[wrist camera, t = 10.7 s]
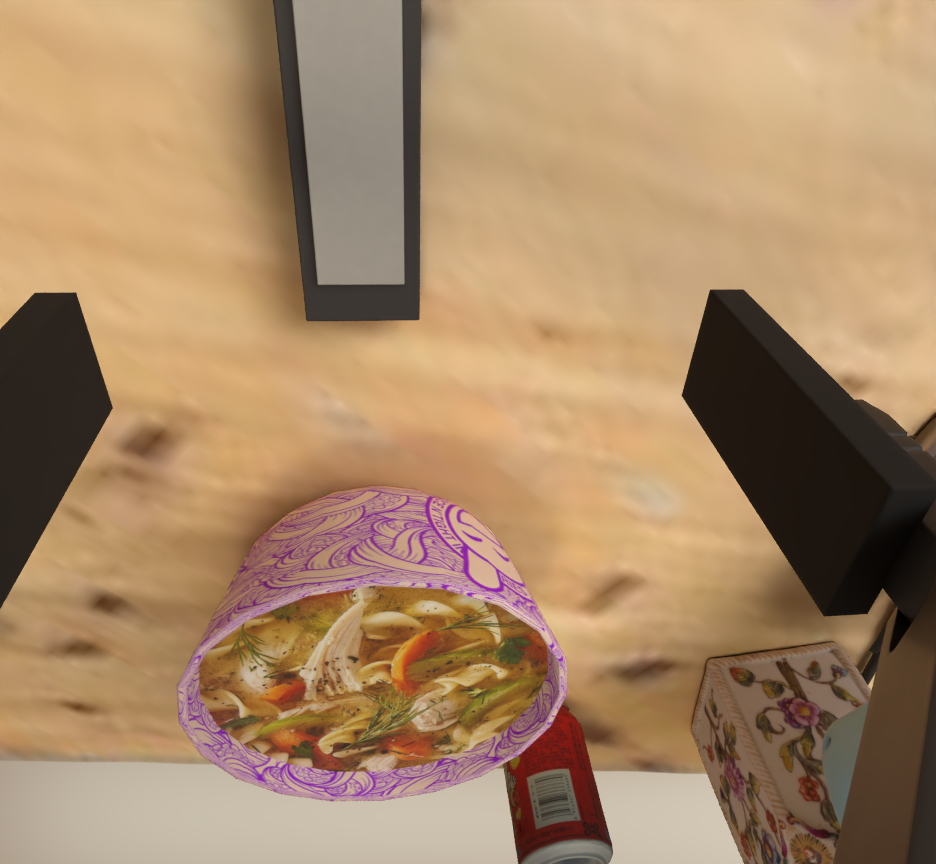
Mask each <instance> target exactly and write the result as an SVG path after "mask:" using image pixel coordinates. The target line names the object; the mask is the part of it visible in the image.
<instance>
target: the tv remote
mask: <svg viewBox="0 0 936 864" xmlns="http://www.w3.org/2000/svg"><path fill="white" fill-rule="evenodd" d="M273 4H274V14H275V23H276V33H277V42H278V52H279V62H280V71H281V81H282V90H283V100H284V110H285V119H286V129H287V138H288V148H289V158H290V167H291V177H292V186H293V196H294V205H295V215H296V225H297V234H298V244H299V253H300V263H301V273H302V282H303V292H304V301H305V311H306V320H307V321H378V320H419V308H420V128H421V0H273Z"/></svg>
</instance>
